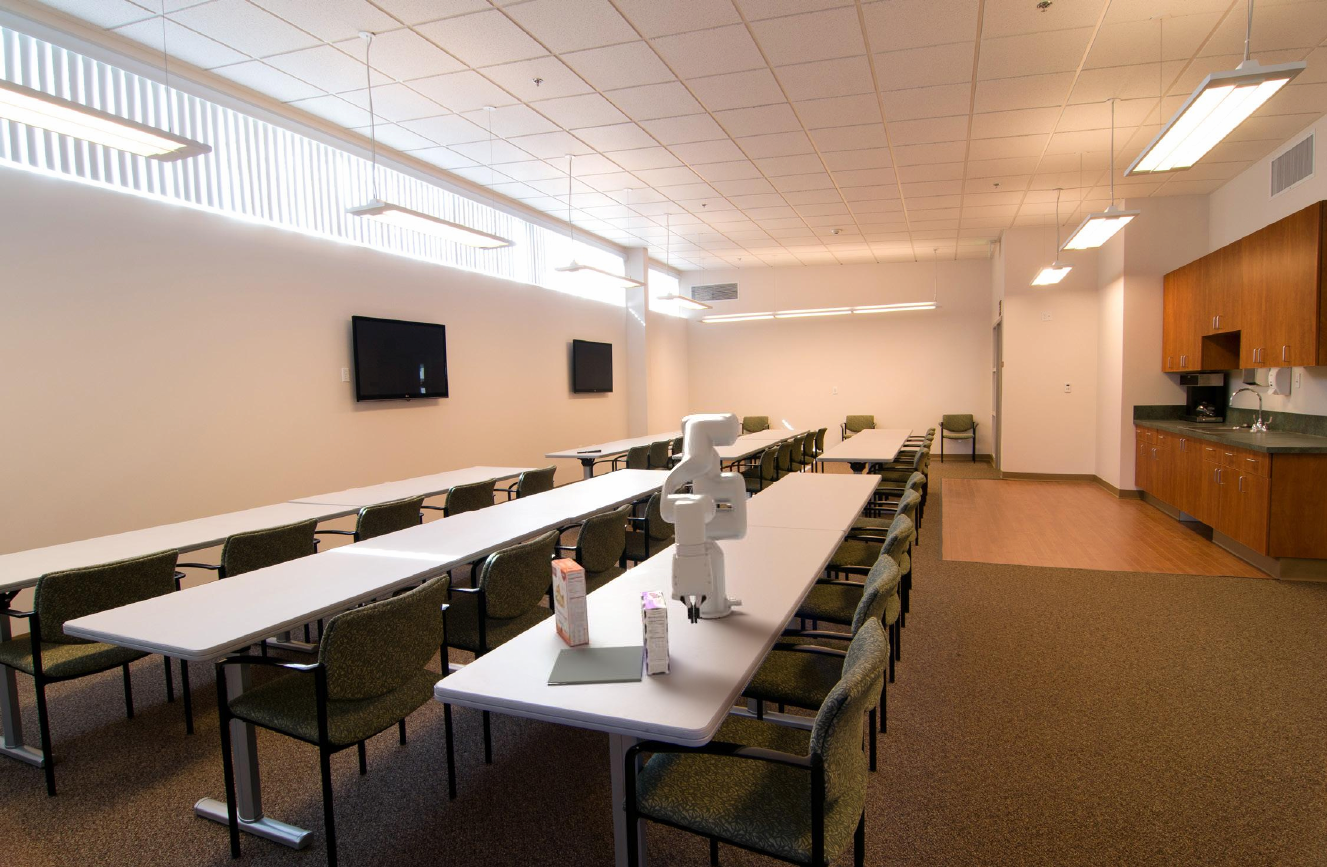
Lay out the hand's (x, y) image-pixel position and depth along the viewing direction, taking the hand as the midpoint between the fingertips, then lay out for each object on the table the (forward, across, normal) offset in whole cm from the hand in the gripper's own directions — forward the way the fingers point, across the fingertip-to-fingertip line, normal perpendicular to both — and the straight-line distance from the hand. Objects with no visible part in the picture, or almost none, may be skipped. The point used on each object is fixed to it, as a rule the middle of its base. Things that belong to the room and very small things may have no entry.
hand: (694, 621), depth 167 cm
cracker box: (+10, +34, -20) cm, 41 cm away
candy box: (+10, +10, 0) cm, 14 cm away
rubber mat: (+10, +24, 0) cm, 26 cm away
